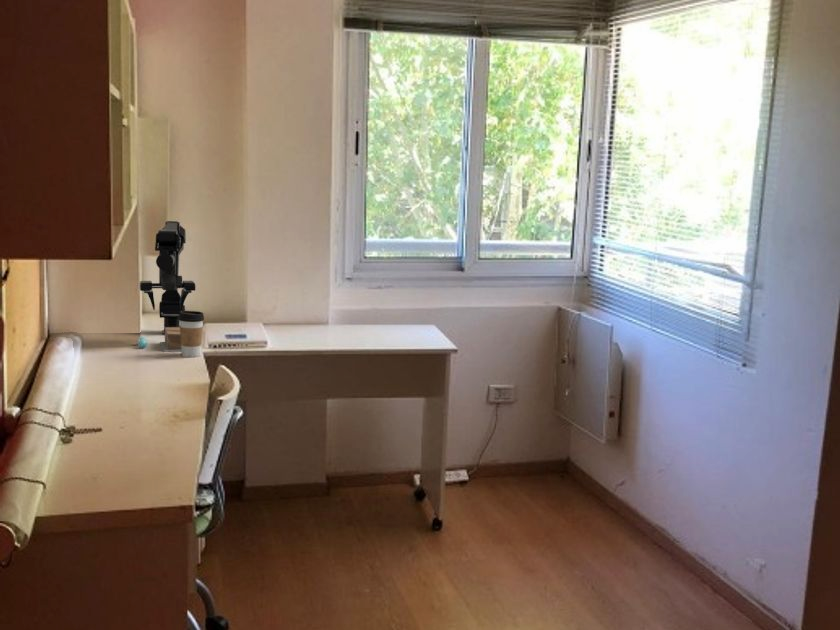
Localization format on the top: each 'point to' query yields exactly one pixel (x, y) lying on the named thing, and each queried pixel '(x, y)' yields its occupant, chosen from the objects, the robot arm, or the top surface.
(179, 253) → the robot arm
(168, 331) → the walnut cover
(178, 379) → the top surface
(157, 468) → the top surface
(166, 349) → the felt mat
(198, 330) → the coffee cup
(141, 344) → the marble
